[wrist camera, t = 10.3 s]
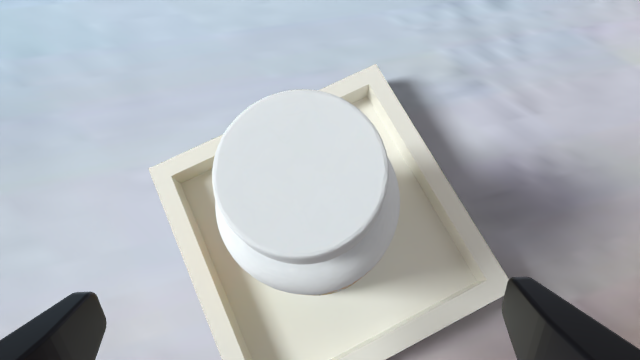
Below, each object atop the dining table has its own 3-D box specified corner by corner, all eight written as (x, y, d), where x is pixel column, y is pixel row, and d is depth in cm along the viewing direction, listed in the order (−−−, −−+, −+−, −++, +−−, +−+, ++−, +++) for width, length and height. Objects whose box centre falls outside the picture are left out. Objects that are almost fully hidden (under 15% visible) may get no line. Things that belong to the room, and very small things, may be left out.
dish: (497, 290, 18) (515, 289, 16) (259, 418, 17) (250, 432, 15) (372, 83, 21) (375, 63, 19) (164, 180, 20) (148, 168, 18)
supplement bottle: (294, 158, 19) (256, 27, 10) (397, 209, 18) (461, 117, 9) (236, 259, 18) (129, 217, 9) (343, 319, 17) (353, 344, 8)
